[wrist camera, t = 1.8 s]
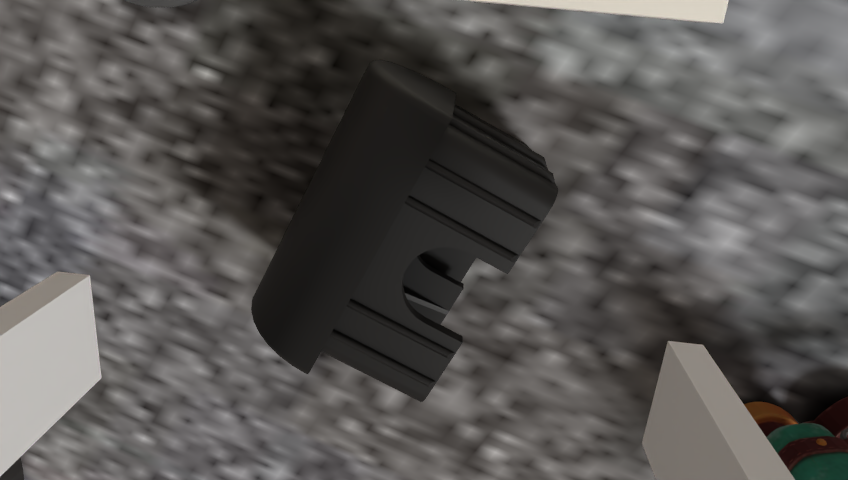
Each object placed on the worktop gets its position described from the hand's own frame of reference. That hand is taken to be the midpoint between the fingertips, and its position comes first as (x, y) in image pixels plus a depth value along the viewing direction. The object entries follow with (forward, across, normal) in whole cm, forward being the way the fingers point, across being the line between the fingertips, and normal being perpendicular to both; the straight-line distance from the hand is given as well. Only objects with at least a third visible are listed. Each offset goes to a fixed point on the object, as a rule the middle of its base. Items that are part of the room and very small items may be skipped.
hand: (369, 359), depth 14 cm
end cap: (+12, 0, 0) cm, 13 cm away
